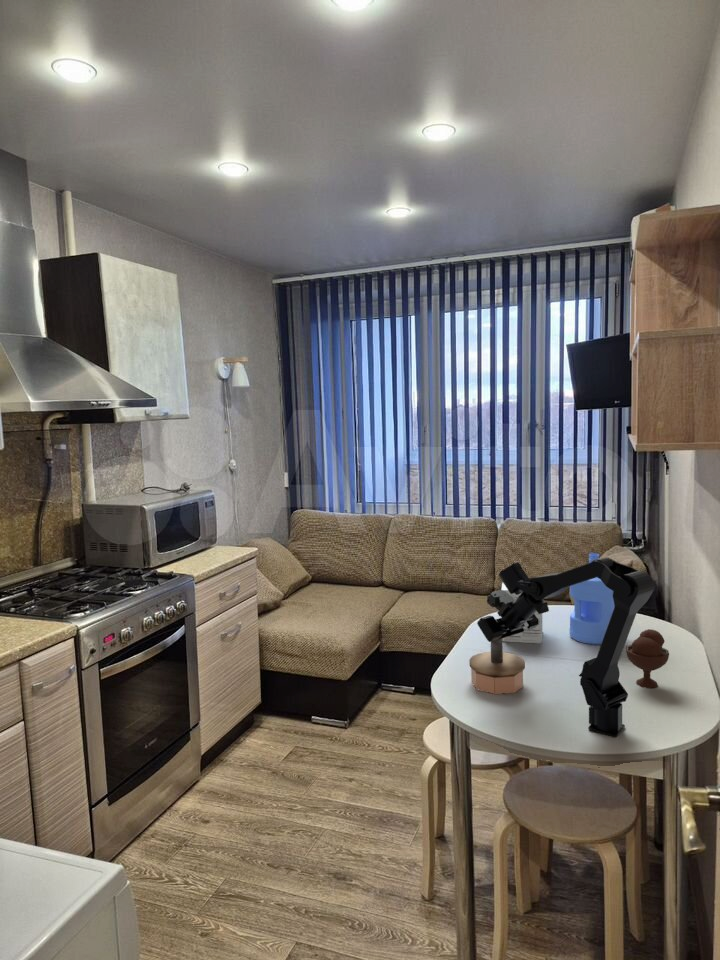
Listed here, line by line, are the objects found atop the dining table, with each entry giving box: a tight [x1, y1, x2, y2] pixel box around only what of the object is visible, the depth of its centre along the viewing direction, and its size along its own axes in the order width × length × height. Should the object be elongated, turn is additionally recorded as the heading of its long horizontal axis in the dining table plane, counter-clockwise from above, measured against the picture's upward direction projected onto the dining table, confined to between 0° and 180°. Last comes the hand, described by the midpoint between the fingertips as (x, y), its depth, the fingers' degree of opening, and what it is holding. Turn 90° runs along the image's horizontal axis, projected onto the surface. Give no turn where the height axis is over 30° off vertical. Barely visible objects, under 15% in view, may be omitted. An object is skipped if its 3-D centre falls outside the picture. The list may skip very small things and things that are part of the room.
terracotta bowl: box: [470, 667, 524, 695], centre depth 179 cm, size 13×13×4 cm
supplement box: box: [500, 582, 543, 645], centre depth 218 cm, size 13×13×18 cm
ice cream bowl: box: [625, 629, 670, 689], centre depth 175 cm, size 11×11×15 cm
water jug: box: [569, 553, 615, 646], centre depth 214 cm, size 16×16×28 cm
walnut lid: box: [468, 618, 526, 676], centre depth 178 cm, size 15×15×13 cm
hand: (492, 639), depth 179 cm, fingers closed on walnut lid, 3 cm apart
